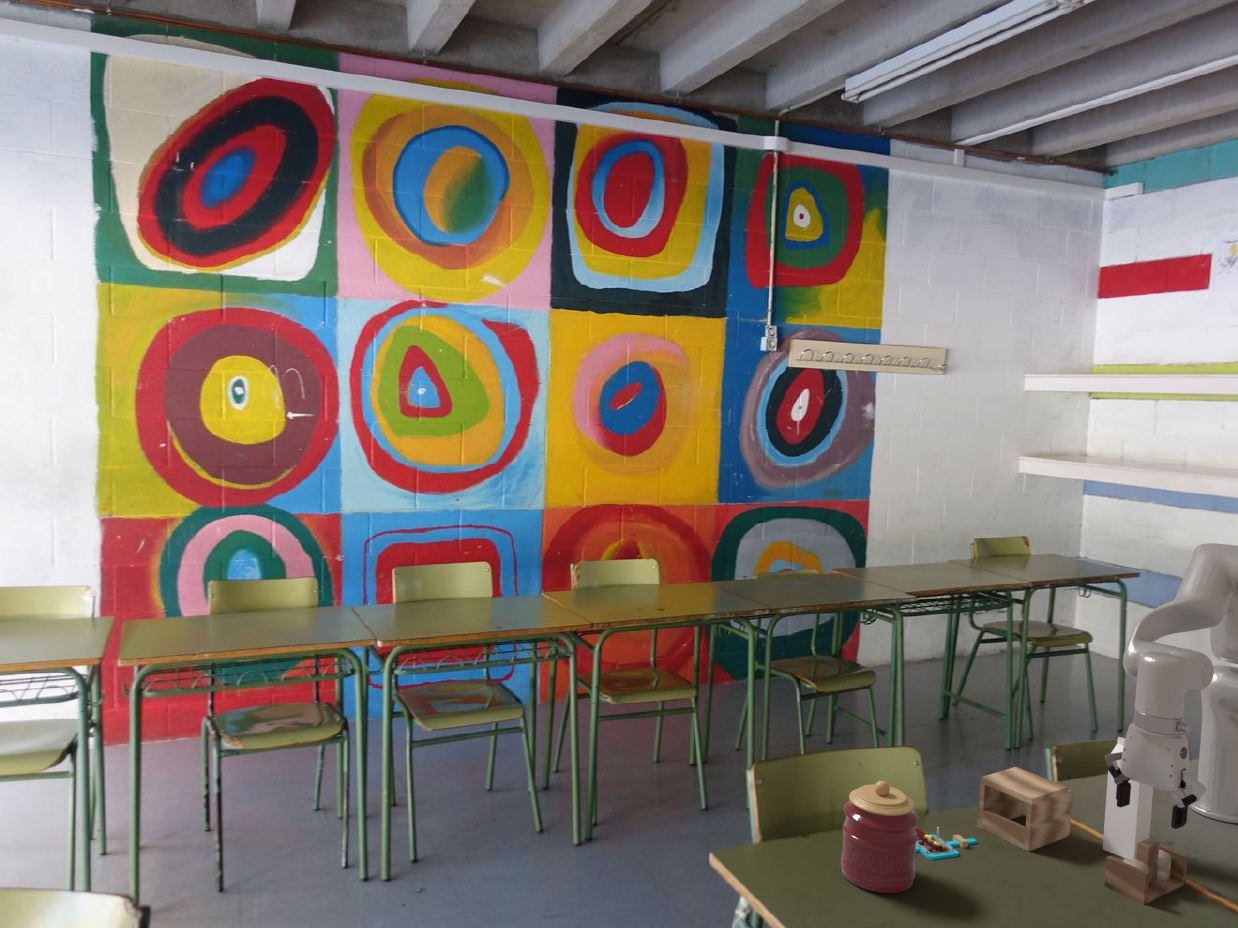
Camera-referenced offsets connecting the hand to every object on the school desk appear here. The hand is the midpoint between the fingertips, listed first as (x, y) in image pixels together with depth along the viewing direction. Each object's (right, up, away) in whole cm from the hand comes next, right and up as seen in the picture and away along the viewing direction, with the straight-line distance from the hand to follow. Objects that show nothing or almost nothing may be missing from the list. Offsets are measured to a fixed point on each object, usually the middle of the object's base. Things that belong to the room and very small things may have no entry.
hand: (1149, 815), depth 168 cm
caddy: (0, -13, +1) cm, 13 cm away
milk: (+3, -12, +14) cm, 19 cm away
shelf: (-14, -11, +21) cm, 27 cm away
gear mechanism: (-35, -12, +13) cm, 39 cm away
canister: (-49, -12, +1) cm, 50 cm away
